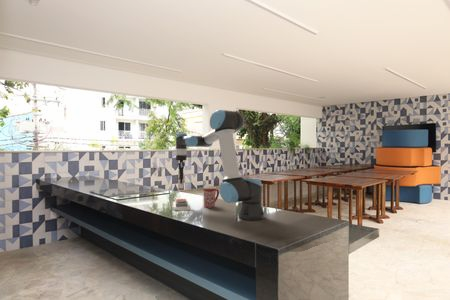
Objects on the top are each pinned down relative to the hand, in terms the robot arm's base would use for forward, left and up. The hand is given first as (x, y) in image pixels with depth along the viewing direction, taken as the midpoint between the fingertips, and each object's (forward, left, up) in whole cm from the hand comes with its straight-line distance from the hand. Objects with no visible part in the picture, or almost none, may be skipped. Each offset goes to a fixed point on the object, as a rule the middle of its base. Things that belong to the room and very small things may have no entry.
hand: (181, 187), depth 214 cm
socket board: (0, +6, -13) cm, 14 cm away
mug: (-21, +8, -13) cm, 26 cm away
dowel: (0, 0, -2) cm, 2 cm away
